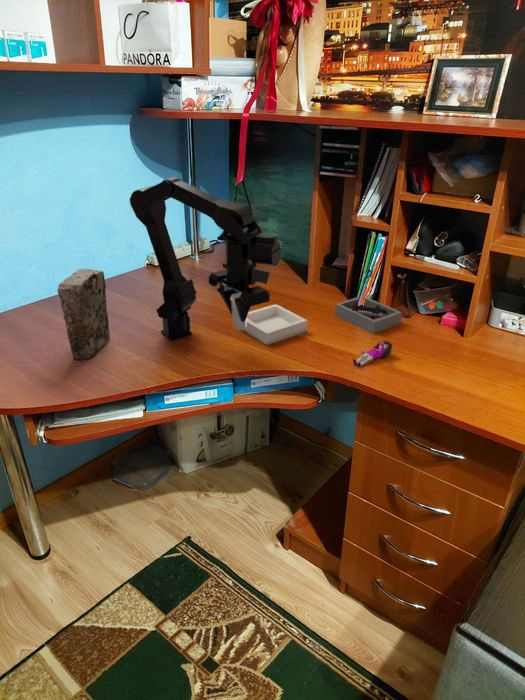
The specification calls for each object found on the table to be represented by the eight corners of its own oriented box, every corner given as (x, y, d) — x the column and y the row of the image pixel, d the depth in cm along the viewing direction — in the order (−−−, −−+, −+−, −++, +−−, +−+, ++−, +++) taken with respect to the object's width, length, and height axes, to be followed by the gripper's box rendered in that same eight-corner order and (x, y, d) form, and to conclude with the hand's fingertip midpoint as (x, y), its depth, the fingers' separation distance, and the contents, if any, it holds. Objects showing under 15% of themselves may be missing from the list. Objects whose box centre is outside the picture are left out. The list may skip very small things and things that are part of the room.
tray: (266, 345, 141) (266, 333, 139) (236, 326, 151) (236, 315, 149) (306, 331, 148) (307, 320, 147) (275, 314, 158) (275, 304, 156)
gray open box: (373, 333, 148) (374, 322, 146) (334, 315, 158) (335, 304, 157) (400, 323, 154) (402, 312, 152) (361, 306, 164) (362, 295, 163)
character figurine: (364, 374, 130) (396, 355, 136) (364, 356, 128) (396, 338, 134) (347, 365, 134) (379, 347, 140) (346, 348, 132) (379, 330, 138)
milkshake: (227, 331, 134) (225, 294, 130) (235, 323, 139) (234, 286, 134) (243, 333, 133) (242, 296, 129) (251, 325, 138) (250, 288, 133)
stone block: (88, 336, 144) (77, 266, 135) (113, 338, 144) (104, 267, 134) (68, 360, 132) (54, 285, 123) (96, 362, 132) (84, 286, 123)
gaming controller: (348, 320, 159) (345, 312, 152) (351, 306, 160) (348, 298, 153) (384, 325, 156) (383, 317, 149) (387, 311, 157) (386, 302, 150)
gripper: (288, 263, 125) (286, 323, 133) (243, 244, 139) (243, 299, 146) (250, 272, 119) (250, 335, 127) (206, 251, 133) (208, 309, 140)
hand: (238, 318), depth 135 cm, fingers closed on milkshake, 4 cm apart
